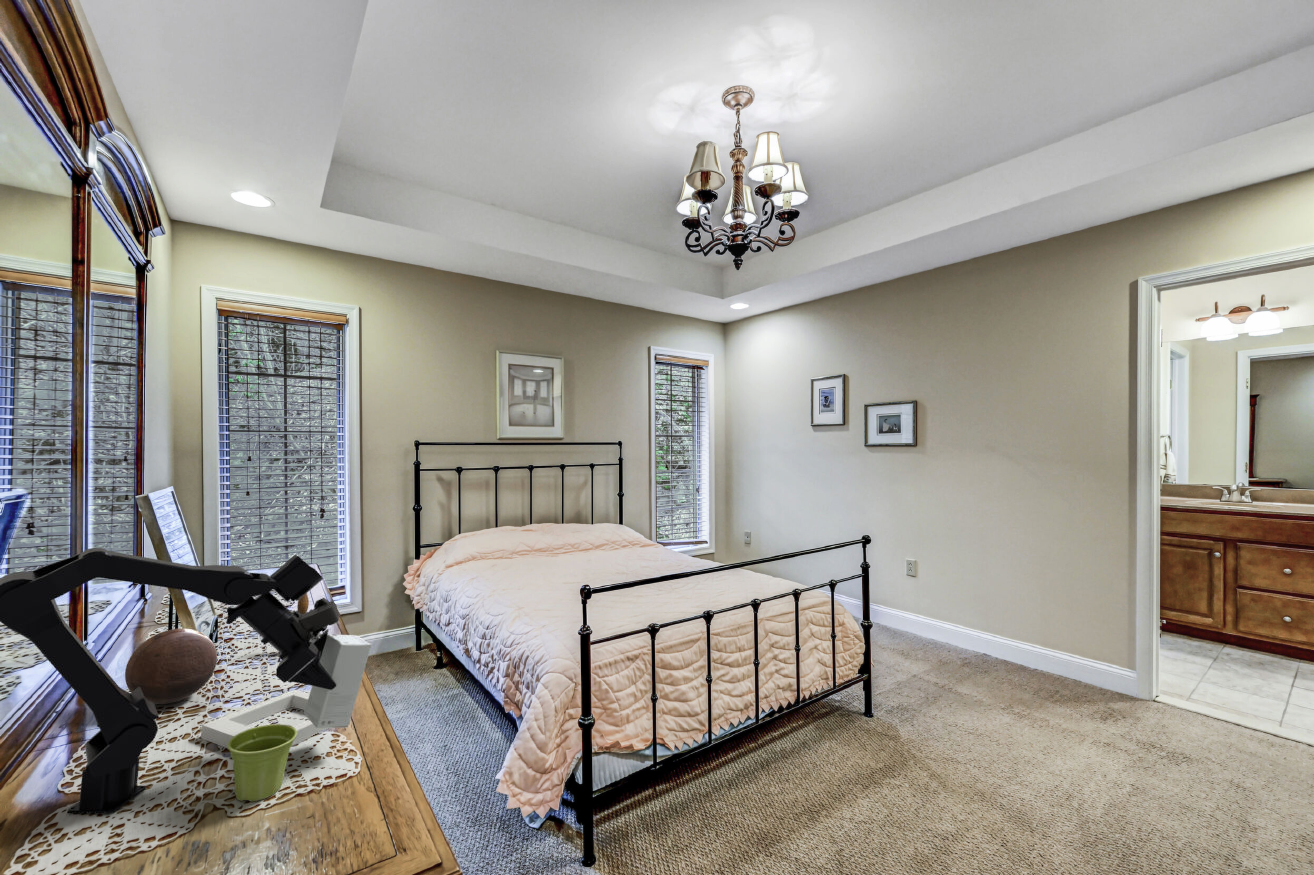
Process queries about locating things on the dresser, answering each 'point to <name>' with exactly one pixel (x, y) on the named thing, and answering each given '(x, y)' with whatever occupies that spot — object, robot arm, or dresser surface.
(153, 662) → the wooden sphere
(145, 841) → the dresser surface
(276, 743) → the plant pot
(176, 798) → the dresser surface
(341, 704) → the skincare box
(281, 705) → the white square frame
